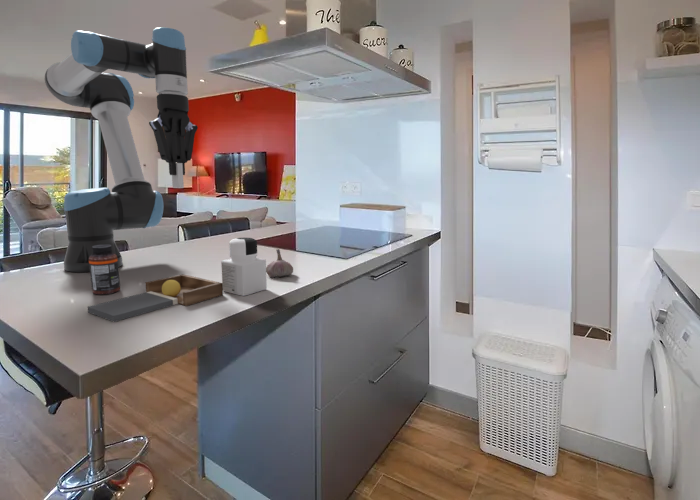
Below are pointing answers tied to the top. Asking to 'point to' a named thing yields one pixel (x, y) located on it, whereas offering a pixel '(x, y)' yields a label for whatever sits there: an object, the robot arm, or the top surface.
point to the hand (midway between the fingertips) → (178, 187)
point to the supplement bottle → (104, 270)
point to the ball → (171, 288)
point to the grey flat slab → (132, 306)
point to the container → (243, 268)
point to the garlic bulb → (279, 267)
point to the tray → (189, 288)
